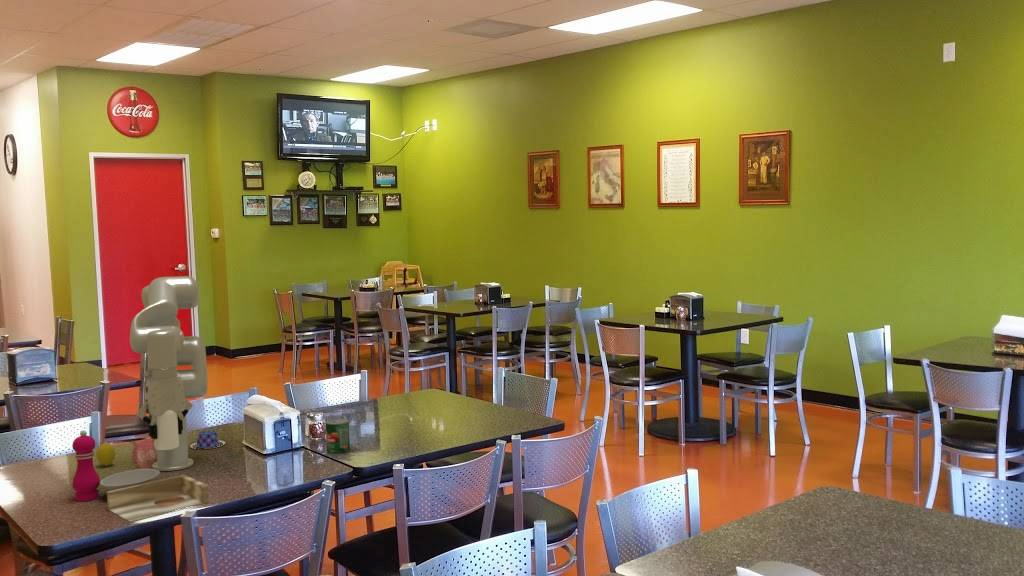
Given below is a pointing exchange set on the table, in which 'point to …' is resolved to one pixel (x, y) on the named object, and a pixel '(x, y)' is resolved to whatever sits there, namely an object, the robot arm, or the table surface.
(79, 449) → the pepper mill
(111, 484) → the dish
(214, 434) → the blue patterned low dome
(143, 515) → the gold shallow open box
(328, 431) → the canned tomato
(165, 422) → the can
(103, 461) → the lemon
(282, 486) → the table surface
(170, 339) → the robot arm
